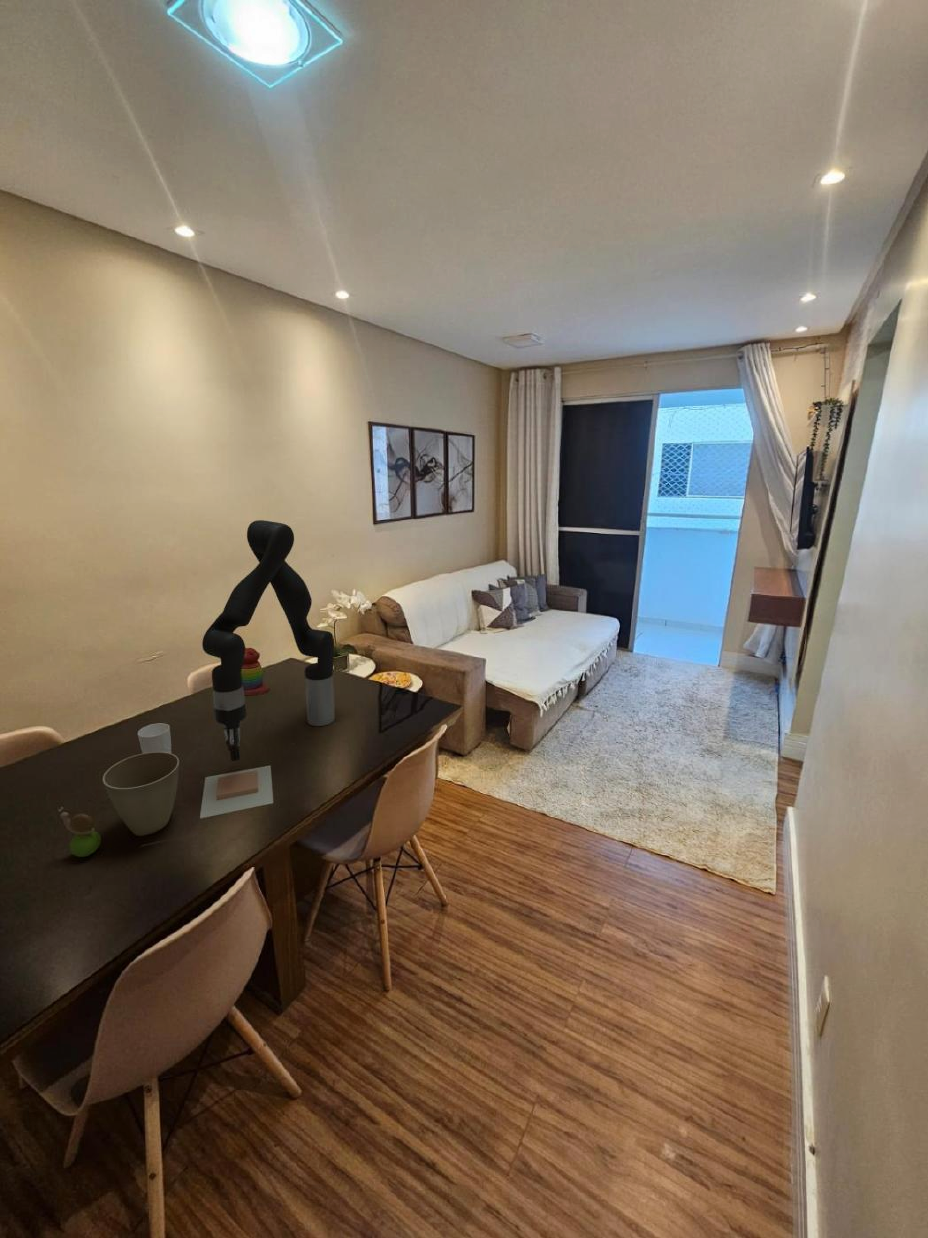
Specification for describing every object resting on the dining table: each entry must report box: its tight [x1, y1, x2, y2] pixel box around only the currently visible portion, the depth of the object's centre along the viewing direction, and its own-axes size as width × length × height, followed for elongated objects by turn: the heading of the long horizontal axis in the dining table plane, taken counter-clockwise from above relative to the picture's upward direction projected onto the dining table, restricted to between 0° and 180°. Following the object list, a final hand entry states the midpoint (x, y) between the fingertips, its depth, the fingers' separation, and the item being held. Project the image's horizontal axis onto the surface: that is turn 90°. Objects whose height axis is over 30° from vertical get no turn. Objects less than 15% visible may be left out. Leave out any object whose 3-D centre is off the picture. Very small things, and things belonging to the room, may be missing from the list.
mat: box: [199, 765, 274, 819], centre depth 130 cm, size 18×17×1 cm
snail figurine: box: [58, 806, 102, 858], centre depth 106 cm, size 5×6×12 cm
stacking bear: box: [241, 647, 270, 696], centre depth 187 cm, size 11×10×18 cm
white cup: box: [137, 722, 172, 754], centre depth 141 cm, size 8×8×10 cm
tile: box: [216, 771, 258, 800], centre depth 131 cm, size 2×10×8 cm
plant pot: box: [102, 752, 180, 837], centre depth 114 cm, size 15×15×16 cm
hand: (235, 759), depth 133 cm, fingers closed
